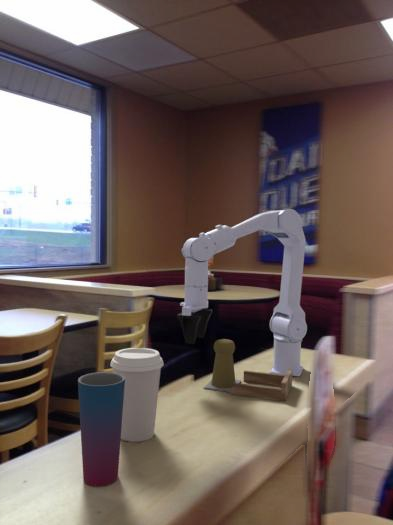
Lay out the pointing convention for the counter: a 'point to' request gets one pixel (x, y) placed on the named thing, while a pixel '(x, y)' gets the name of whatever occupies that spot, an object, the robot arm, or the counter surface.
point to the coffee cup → (138, 391)
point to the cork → (223, 364)
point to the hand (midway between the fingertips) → (195, 340)
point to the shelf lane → (264, 391)
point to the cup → (101, 426)
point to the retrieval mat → (220, 388)
